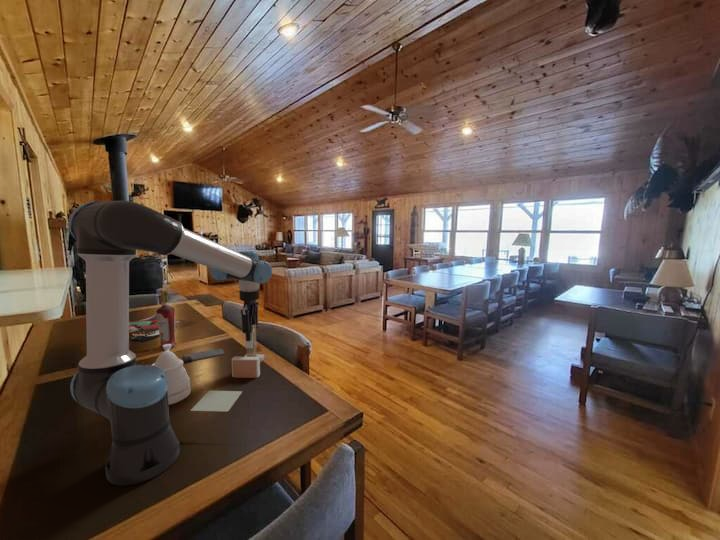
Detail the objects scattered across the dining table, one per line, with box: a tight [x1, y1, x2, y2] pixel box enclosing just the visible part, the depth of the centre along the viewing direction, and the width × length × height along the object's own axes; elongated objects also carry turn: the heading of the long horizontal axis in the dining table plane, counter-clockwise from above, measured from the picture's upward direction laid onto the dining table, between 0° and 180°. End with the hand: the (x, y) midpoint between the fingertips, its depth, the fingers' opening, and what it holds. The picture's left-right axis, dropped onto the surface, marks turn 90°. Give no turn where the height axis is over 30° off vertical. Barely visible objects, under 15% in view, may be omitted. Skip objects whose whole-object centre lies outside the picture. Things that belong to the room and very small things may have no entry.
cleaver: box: [149, 348, 225, 365], centre depth 137 cm, size 29×10×2 cm, turn 129°
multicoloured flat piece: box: [129, 314, 180, 343], centre depth 176 cm, size 35×35×2 cm
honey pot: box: [152, 344, 191, 406], centre depth 105 cm, size 13×13×18 cm
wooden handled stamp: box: [243, 325, 266, 363], centre depth 126 cm, size 9×8×15 cm
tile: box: [231, 355, 261, 379], centre depth 120 cm, size 3×10×8 cm, turn 89°
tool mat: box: [189, 390, 243, 413], centre depth 104 cm, size 12×12×1 cm
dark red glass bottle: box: [155, 289, 177, 350], centre depth 146 cm, size 7×7×28 cm
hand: (251, 345), depth 126 cm, fingers closed on wooden handled stamp, 3 cm apart
